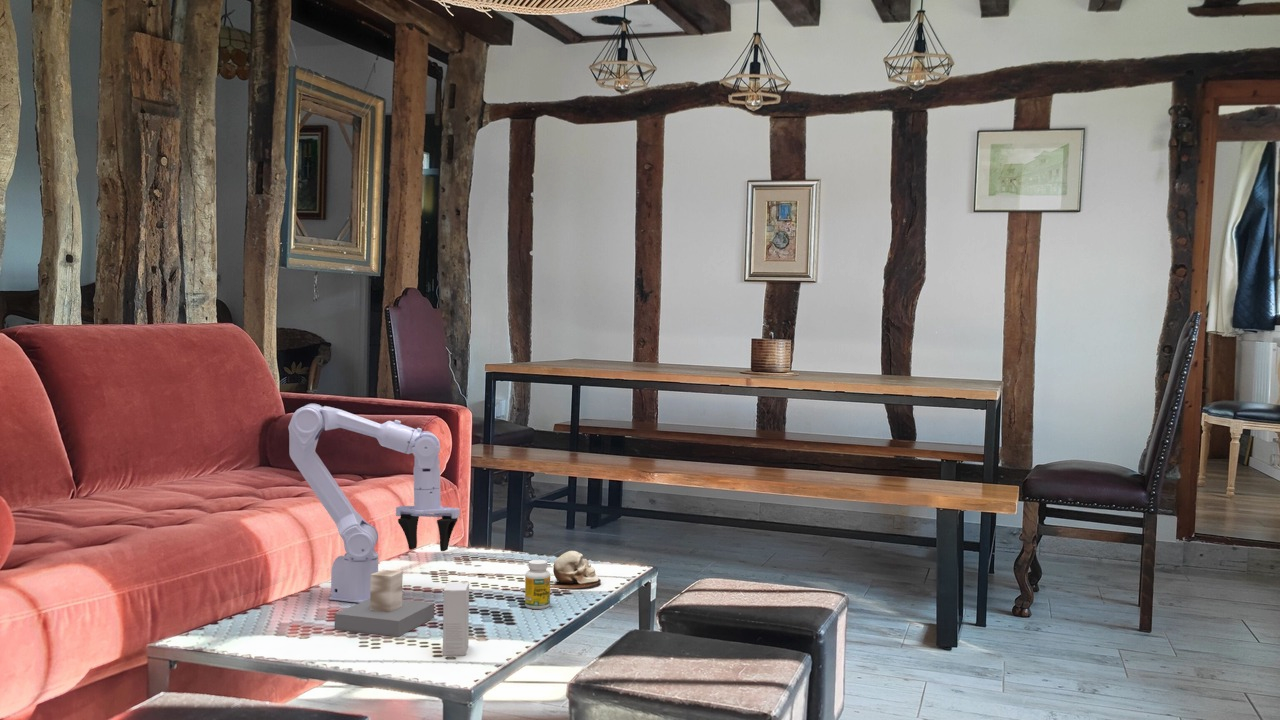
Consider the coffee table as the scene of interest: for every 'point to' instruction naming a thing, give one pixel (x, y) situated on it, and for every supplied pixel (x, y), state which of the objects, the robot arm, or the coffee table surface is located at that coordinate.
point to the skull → (574, 571)
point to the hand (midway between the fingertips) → (428, 549)
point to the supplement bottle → (537, 585)
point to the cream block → (386, 590)
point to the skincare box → (455, 618)
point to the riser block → (384, 618)
